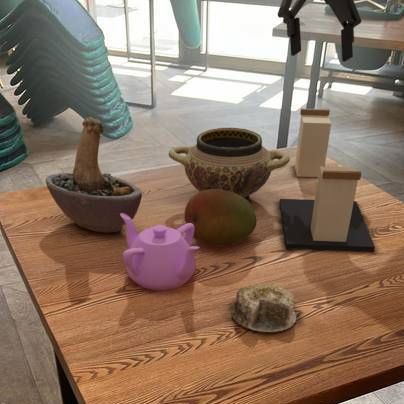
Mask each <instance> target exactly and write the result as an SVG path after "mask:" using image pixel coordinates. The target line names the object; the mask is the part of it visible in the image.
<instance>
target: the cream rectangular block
mask: <svg viewBox="0 0 404 404" xmlns="http://www.w3.org/2000/svg"><path fill="white" fill-rule="evenodd" d="M299 111H300V112H299V114H300V119H299V120H300V121H299V129H298V137H297V145H296V146H297V147H296V153H295V162H294V170H295V173H296V174H295V175H296V177H300V178H301V177H303V178H318V174H319V168H320V167H326V162H327V161H326V160H327V155H328V148H329V140H330V134H331V128H332V122H331V119H330V117H329V116H330V113H331V110H330V109H329V108H328V109H327V108H300V110H299Z"/></svg>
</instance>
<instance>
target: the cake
mask: <svg viewBox="0 0 404 404" xmlns="http://www.w3.org/2000/svg"><path fill="white" fill-rule="evenodd" d="M295 303H296V301H295V296H294V294H292V292H291V291H289V290H287V289H285V288H283V287H282V286H277V285H276V284H274V285H273V284H270V283H269V284H268V283H267V284H264V283H254V284H250V285H248V286H246V287H243V288H242V287H240V288H239V289H238V291H236V296H235V301H234V305H233V307H232V309H231V316H232V319H233V320H234V321H235V322H236V323H237V324H238V325H239V326H242V327H243V328H245V329H249V330H252V331H255V332H261V333H276V332H282V331H284V330H285V331H286V330H287V329H290V328H292V326H294V324H295V323H296V321H297V314H296V312H295V309H294V307H295Z"/></svg>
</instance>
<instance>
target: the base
mask: <svg viewBox="0 0 404 404" xmlns="http://www.w3.org/2000/svg"><path fill="white" fill-rule="evenodd" d="M361 179H362V171H359V170H358V171H357V170H355V168H354V167H349V166H347V167H346V166H325V167H320V168H319V174H318V177H317V181H316V182H317V183H316V188H315V196H314V199H306V198H305V199H304V198H303V199H300V198H299V199H297V198H279V202H278V203H279V210H280V216H281V217H280V218H281V223H282V231H283V238H284V243H285V249H291V250H314V251H315V250H318V251H319V250H320V251H344V252H370V253H371V252H375V248H376V246H375V244H374V241H373V239H372V237H371V234H370V232H369V229H368V227H367V224H366V222H365V219H364V216H363V214H362V212H361V209H360V207H359V204H358V201H357V200H355V197H356V192H357V187H358V186H357V185H358V182H359V181H361Z"/></svg>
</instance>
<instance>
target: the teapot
mask: <svg viewBox="0 0 404 404" xmlns="http://www.w3.org/2000/svg"><path fill="white" fill-rule="evenodd" d="M120 216H121V217H122V218H123V220H124V222H125V224H126V225H125V229H126V245H127V248H128V249H126V250H124V252H123V254H122V260H123V263H124V265H125V266H126V267H125V268H126V273H127V275H128V276H129V278H130V279H131V280H132V281H133V282H135V283H136V284H137V285H139V286H140V287H142V288H145V289H146V290H147V289H148V290H151V291H169V290H173V289H177V288H179V287H181V286H183V285H184V284H186V283H187V282H188V281H189V280H190V279H191V278H192V277H193V275H194V274H195V271H196V266H197V264H196V252H197V250H200V249H201V248H200V246H197V245H194V246H193V245H191V243H192V240H193V238H194V236H193V235H194V225H193V224H192V223H187V224H186V223H185V224H183V225H181V226H179V227H178V228H176V229H175V228H172V227H169V226H166V225H164V224H156V225H154V226H152V227H148V228H145V229H144V230H142V231H141V232H140V233H138V232H137V229H136V226H135V224H134V222H133V219H132V220H131V218H130V217H129V216H128V215H126V214H124V213H120ZM184 233H185V235H183V234H184Z"/></svg>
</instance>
